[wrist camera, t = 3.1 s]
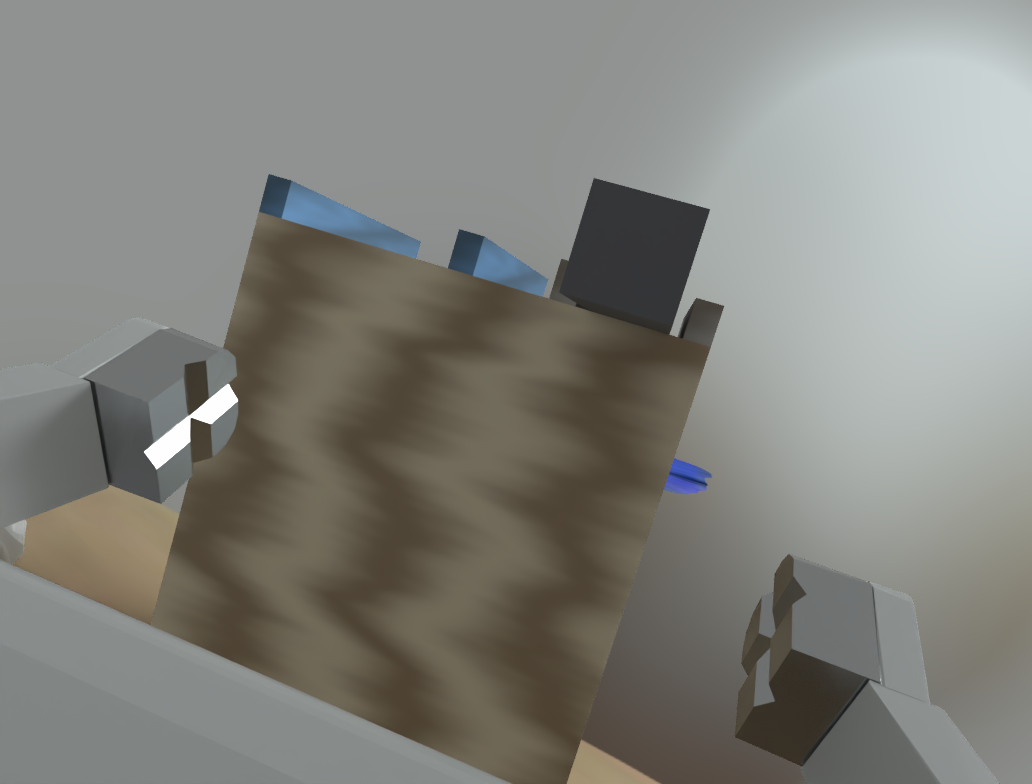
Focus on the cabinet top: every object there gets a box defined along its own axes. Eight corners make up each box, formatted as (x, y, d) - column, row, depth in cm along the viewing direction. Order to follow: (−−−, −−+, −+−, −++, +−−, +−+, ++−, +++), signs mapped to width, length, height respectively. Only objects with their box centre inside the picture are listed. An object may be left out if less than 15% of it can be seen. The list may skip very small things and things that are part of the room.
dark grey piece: (666, 341, 40) (684, 286, 39) (672, 326, 19) (710, 209, 19) (611, 324, 40) (628, 270, 40) (559, 292, 20) (594, 177, 19)
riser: (556, 764, 46) (700, 324, 43) (497, 991, 29) (724, 306, 26) (290, 656, 48) (408, 238, 46) (102, 807, 32) (268, 174, 29)
